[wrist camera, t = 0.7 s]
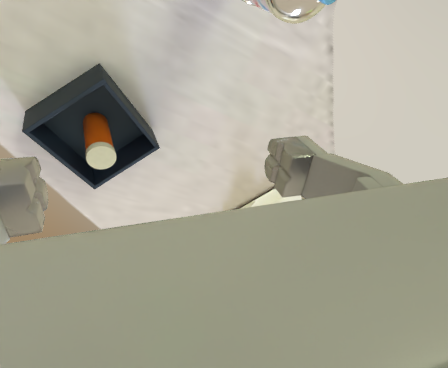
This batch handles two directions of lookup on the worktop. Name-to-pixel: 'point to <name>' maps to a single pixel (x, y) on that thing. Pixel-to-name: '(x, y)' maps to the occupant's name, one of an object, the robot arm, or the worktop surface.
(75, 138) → the basket
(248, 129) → the worktop surface
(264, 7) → the water bottle
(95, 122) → the tube
